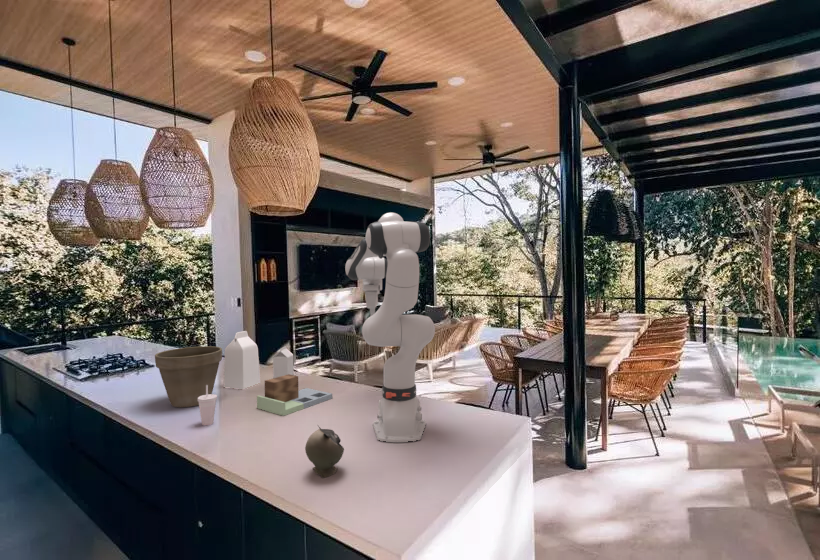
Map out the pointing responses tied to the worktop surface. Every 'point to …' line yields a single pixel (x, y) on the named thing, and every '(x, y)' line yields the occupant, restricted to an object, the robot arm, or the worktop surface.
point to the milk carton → (283, 363)
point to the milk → (241, 362)
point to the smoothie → (207, 407)
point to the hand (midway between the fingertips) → (372, 317)
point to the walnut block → (282, 388)
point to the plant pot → (188, 373)
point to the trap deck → (293, 402)
